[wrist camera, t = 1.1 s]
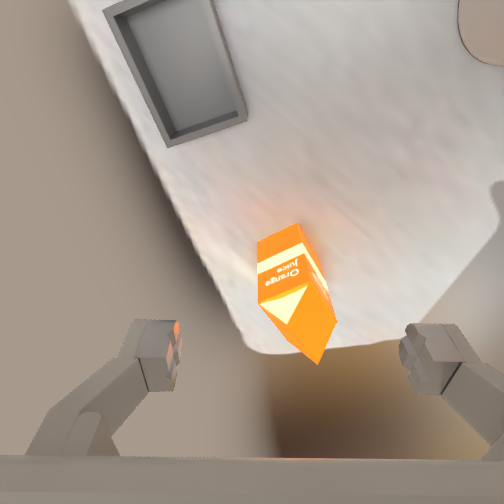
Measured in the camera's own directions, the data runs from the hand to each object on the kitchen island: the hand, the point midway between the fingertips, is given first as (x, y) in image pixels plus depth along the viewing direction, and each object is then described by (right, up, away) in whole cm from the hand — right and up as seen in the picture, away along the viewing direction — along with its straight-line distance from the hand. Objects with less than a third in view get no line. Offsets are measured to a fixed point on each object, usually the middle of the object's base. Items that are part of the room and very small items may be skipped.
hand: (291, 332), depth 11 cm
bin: (-9, +26, +28) cm, 39 cm away
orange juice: (+5, +3, +43) cm, 44 cm away
